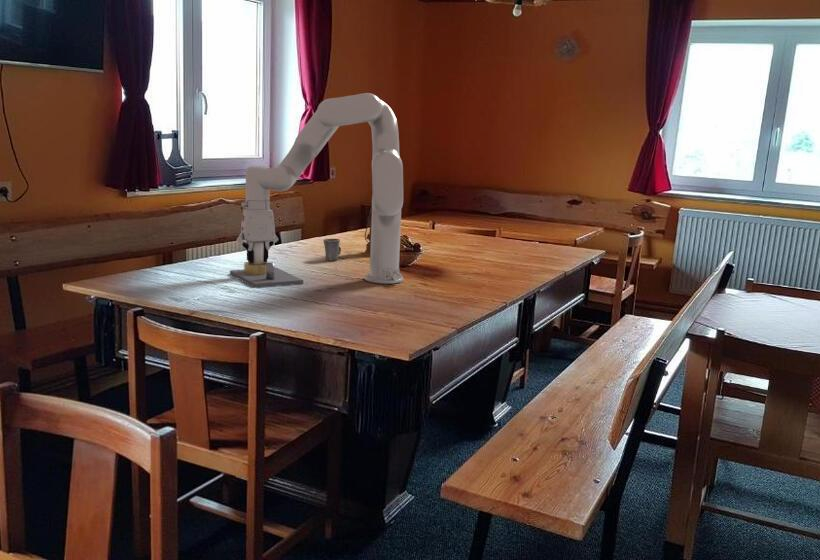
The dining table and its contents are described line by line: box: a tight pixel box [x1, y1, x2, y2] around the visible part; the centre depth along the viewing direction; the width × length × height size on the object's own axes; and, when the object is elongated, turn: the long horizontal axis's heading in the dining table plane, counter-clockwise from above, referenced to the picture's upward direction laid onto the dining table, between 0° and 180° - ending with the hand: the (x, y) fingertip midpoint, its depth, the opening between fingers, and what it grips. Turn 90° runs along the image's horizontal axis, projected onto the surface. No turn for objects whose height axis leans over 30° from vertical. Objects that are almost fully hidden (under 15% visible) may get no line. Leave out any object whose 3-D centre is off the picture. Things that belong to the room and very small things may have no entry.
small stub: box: [266, 261, 276, 280], centre depth 232 cm, size 3×3×5 cm
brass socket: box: [243, 261, 269, 275], centre depth 241 cm, size 8×8×3 cm
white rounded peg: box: [251, 241, 264, 265], centre depth 240 cm, size 4×4×8 cm
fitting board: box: [229, 266, 304, 288], centre depth 238 cm, size 22×16×1 cm
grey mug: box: [322, 238, 342, 262], centre depth 277 cm, size 6×13×8 cm, turn 173°
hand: (257, 261), depth 241 cm, fingers closed on white rounded peg, 4 cm apart
